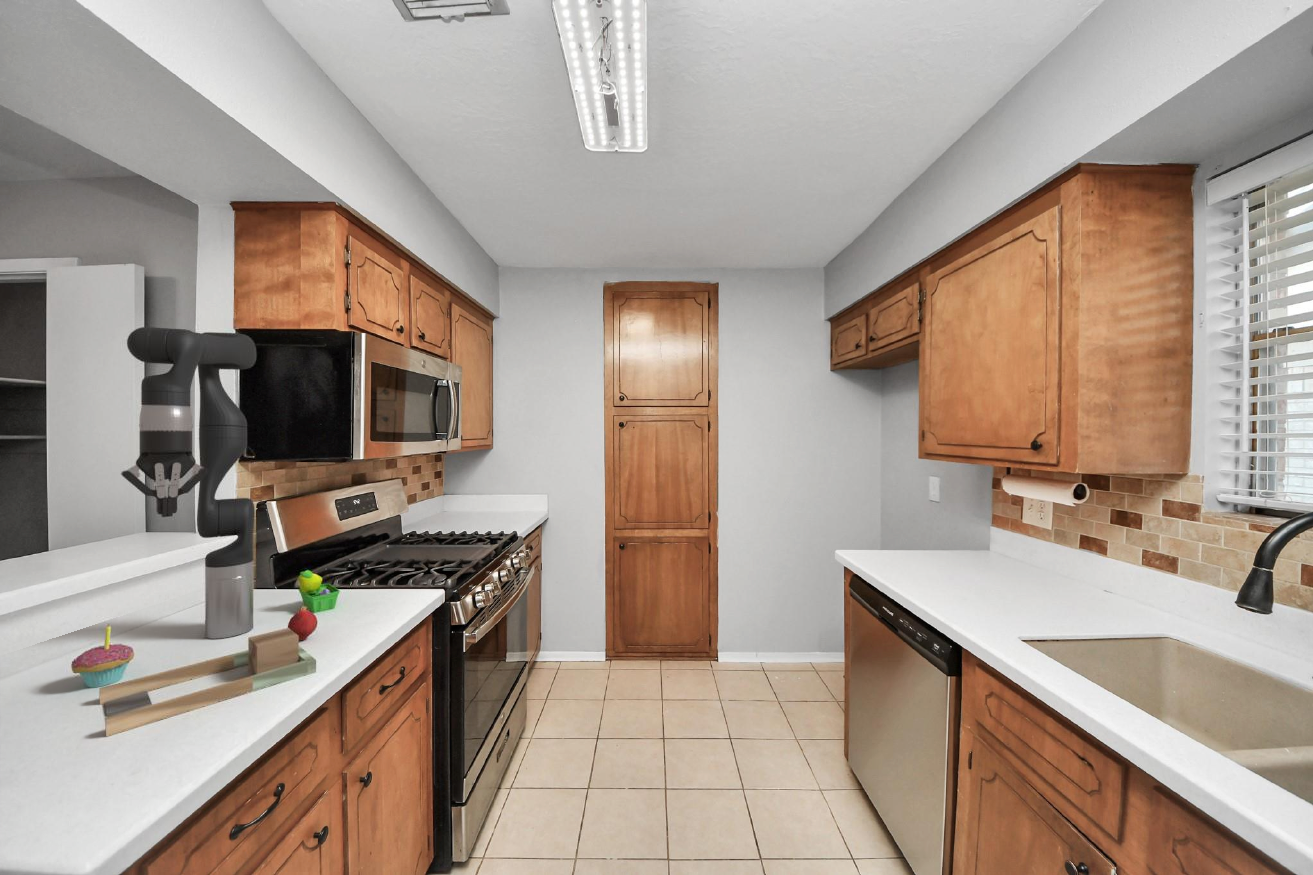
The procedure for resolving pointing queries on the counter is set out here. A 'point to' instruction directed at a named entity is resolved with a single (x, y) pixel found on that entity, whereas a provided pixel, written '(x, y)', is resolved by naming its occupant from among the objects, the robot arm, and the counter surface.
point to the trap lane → (135, 709)
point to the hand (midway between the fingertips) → (166, 516)
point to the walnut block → (272, 650)
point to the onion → (303, 623)
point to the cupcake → (103, 663)
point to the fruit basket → (316, 592)
